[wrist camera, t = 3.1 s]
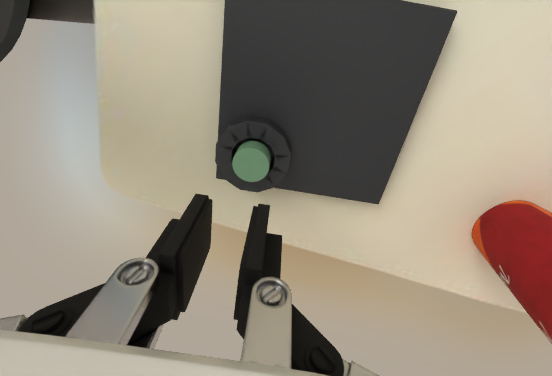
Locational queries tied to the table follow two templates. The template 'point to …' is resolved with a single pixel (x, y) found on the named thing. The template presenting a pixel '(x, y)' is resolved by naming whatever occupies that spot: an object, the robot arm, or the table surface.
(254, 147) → the button
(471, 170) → the table surface
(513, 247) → the coffee cup
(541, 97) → the table surface
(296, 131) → the dark grey flat block
